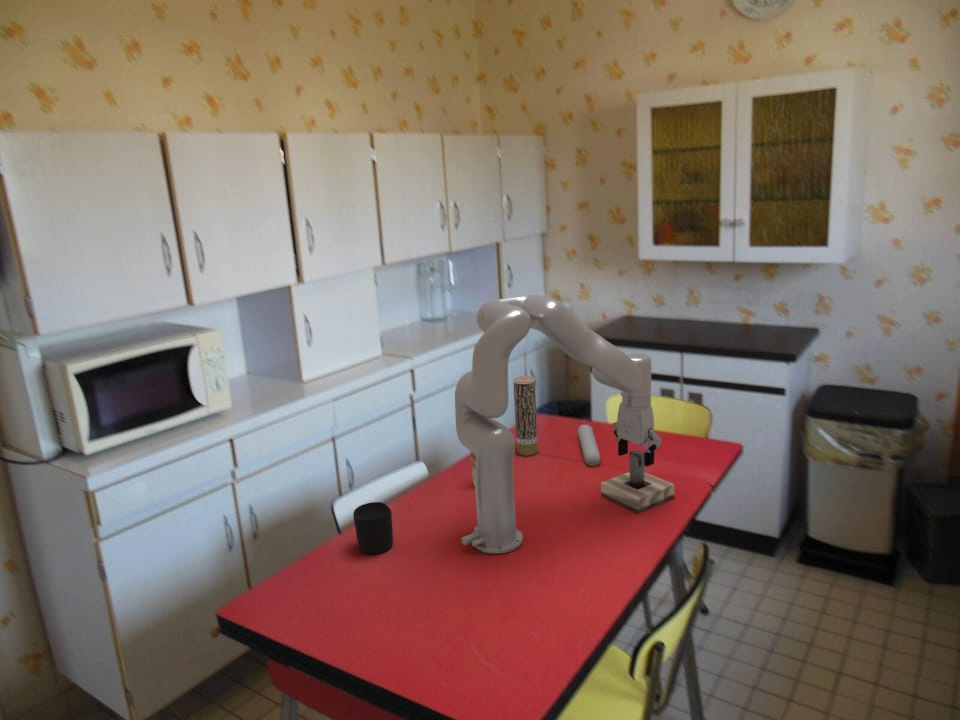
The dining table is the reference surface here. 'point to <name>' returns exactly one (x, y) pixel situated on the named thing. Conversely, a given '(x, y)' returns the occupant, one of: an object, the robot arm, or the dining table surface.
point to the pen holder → (373, 528)
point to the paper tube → (525, 415)
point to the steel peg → (637, 469)
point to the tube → (588, 445)
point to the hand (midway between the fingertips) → (635, 459)
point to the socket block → (637, 492)
